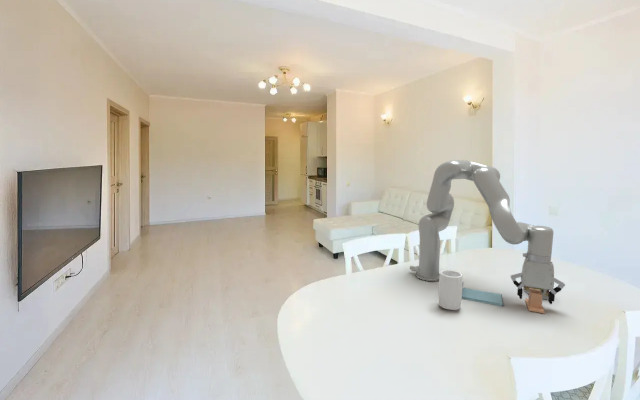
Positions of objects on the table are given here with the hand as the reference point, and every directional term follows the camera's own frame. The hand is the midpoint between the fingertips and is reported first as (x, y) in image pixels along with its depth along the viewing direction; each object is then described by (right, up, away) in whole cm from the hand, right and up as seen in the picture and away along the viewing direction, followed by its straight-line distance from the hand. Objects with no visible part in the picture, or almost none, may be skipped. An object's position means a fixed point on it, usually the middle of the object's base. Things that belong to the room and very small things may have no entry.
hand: (534, 300), depth 118 cm
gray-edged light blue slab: (-18, -2, +9) cm, 20 cm away
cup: (-34, -3, 0) cm, 34 cm away
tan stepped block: (0, -3, 0) cm, 3 cm away
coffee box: (+8, -2, +12) cm, 15 cm away
